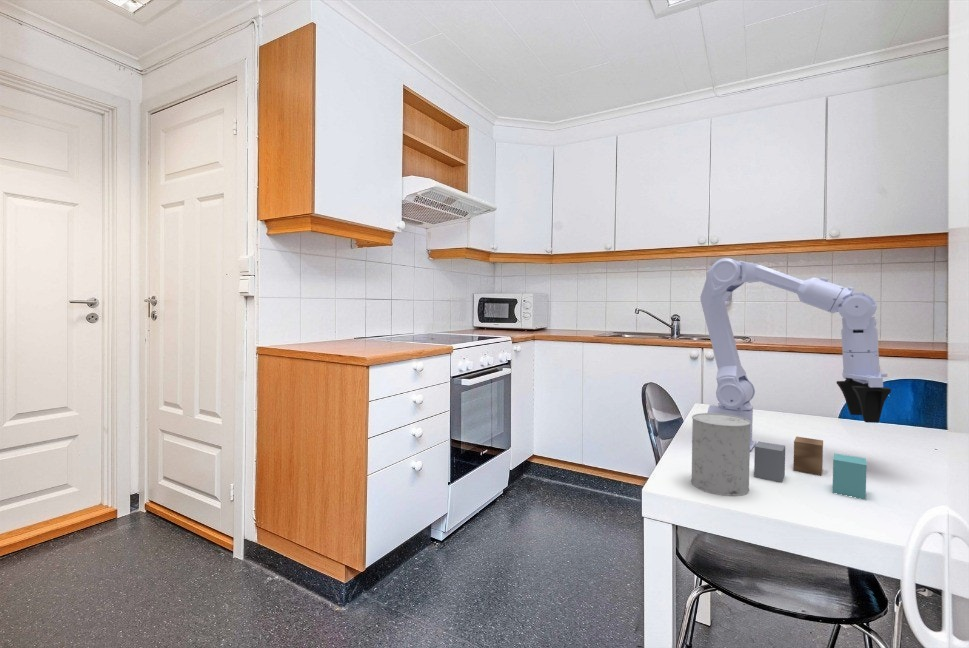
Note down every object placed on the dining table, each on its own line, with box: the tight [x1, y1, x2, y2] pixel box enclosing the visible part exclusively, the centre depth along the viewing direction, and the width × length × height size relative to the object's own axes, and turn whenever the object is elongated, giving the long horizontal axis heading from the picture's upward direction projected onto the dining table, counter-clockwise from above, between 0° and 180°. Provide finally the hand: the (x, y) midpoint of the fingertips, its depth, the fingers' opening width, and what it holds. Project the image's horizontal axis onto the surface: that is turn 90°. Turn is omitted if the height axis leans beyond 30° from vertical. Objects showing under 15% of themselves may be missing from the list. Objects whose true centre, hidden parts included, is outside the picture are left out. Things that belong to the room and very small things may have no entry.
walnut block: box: [792, 436, 824, 477], centre depth 92 cm, size 4×4×6 cm
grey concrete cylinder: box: [690, 412, 751, 497], centre depth 84 cm, size 10×10×12 cm
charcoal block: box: [753, 441, 786, 484], centre depth 88 cm, size 4×4×6 cm
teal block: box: [831, 453, 868, 500], centre depth 81 cm, size 4×4×6 cm
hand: (863, 418), depth 93 cm, fingers open, 7 cm apart
